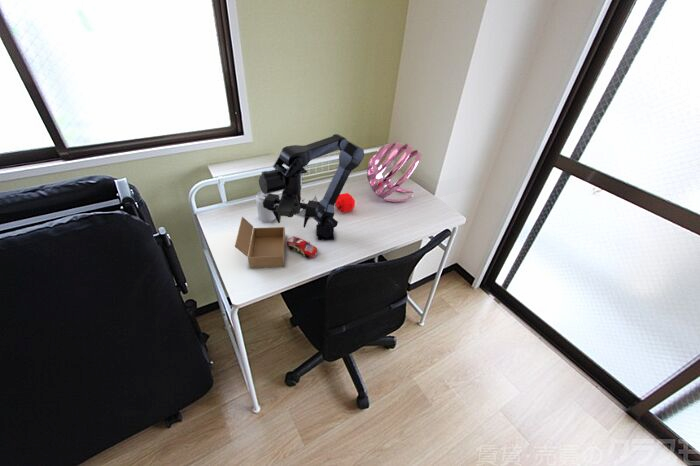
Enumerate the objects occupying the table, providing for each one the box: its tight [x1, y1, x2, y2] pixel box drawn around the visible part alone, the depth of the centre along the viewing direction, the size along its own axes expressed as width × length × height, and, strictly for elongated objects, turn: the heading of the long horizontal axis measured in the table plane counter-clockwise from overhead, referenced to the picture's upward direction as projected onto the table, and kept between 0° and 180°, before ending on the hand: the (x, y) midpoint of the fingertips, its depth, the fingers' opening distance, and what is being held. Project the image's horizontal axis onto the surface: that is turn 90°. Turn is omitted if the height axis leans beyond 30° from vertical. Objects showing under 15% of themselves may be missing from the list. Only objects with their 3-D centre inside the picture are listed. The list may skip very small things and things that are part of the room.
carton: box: [247, 226, 286, 269], centre depth 113 cm, size 17×12×5 cm
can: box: [255, 191, 276, 223], centre depth 127 cm, size 8×8×12 cm
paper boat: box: [297, 195, 319, 218], centre depth 135 cm, size 12×6×9 cm
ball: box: [334, 192, 356, 214], centre depth 137 cm, size 8×8×8 cm
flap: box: [234, 216, 254, 257], centre depth 109 cm, size 17×6×1 cm
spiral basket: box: [366, 141, 422, 203], centre depth 145 cm, size 28×28×27 cm
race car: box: [285, 235, 318, 259], centre depth 115 cm, size 13×5×4 cm, turn 57°
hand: (291, 224), depth 109 cm, fingers open, 9 cm apart
